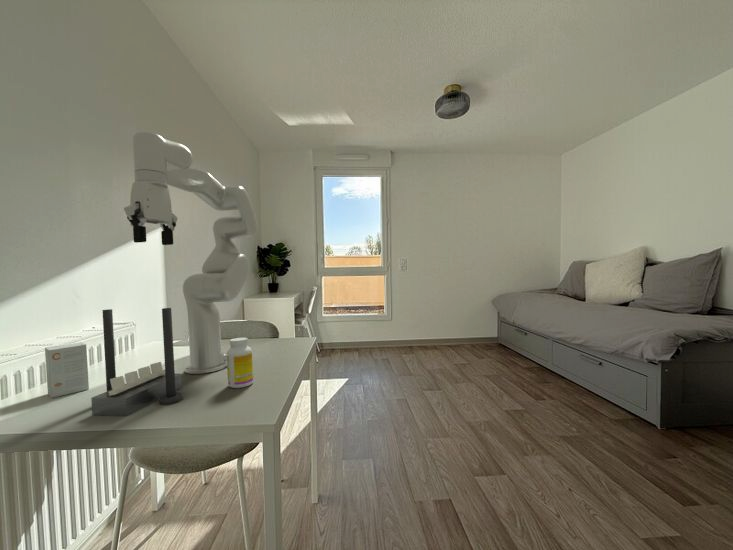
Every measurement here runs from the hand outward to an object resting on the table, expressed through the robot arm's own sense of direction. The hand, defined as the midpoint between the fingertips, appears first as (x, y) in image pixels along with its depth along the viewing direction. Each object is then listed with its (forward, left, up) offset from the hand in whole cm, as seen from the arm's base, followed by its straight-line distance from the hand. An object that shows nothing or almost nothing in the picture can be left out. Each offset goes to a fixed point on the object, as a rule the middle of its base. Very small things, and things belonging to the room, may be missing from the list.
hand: (154, 243), depth 92 cm
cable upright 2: (-1, +11, -40) cm, 42 cm away
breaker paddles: (+5, +5, -36) cm, 37 cm away
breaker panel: (+5, +5, -40) cm, 41 cm away
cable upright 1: (+11, -1, -40) cm, 42 cm away
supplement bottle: (-18, +11, -40) cm, 46 cm away
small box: (+21, -18, -40) cm, 49 cm away
